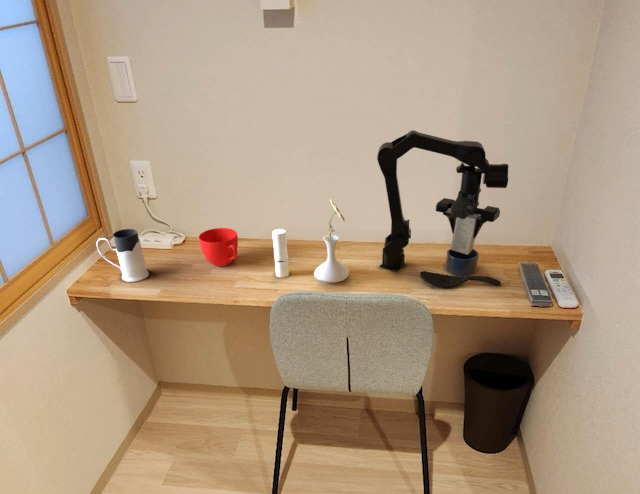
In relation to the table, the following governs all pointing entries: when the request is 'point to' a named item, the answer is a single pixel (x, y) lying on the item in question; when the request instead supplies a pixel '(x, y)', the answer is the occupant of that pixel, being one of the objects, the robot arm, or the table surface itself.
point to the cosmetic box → (464, 234)
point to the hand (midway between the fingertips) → (464, 235)
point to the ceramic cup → (219, 245)
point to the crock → (461, 262)
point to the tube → (280, 252)
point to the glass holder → (128, 255)
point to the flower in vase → (331, 257)
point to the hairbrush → (453, 279)
